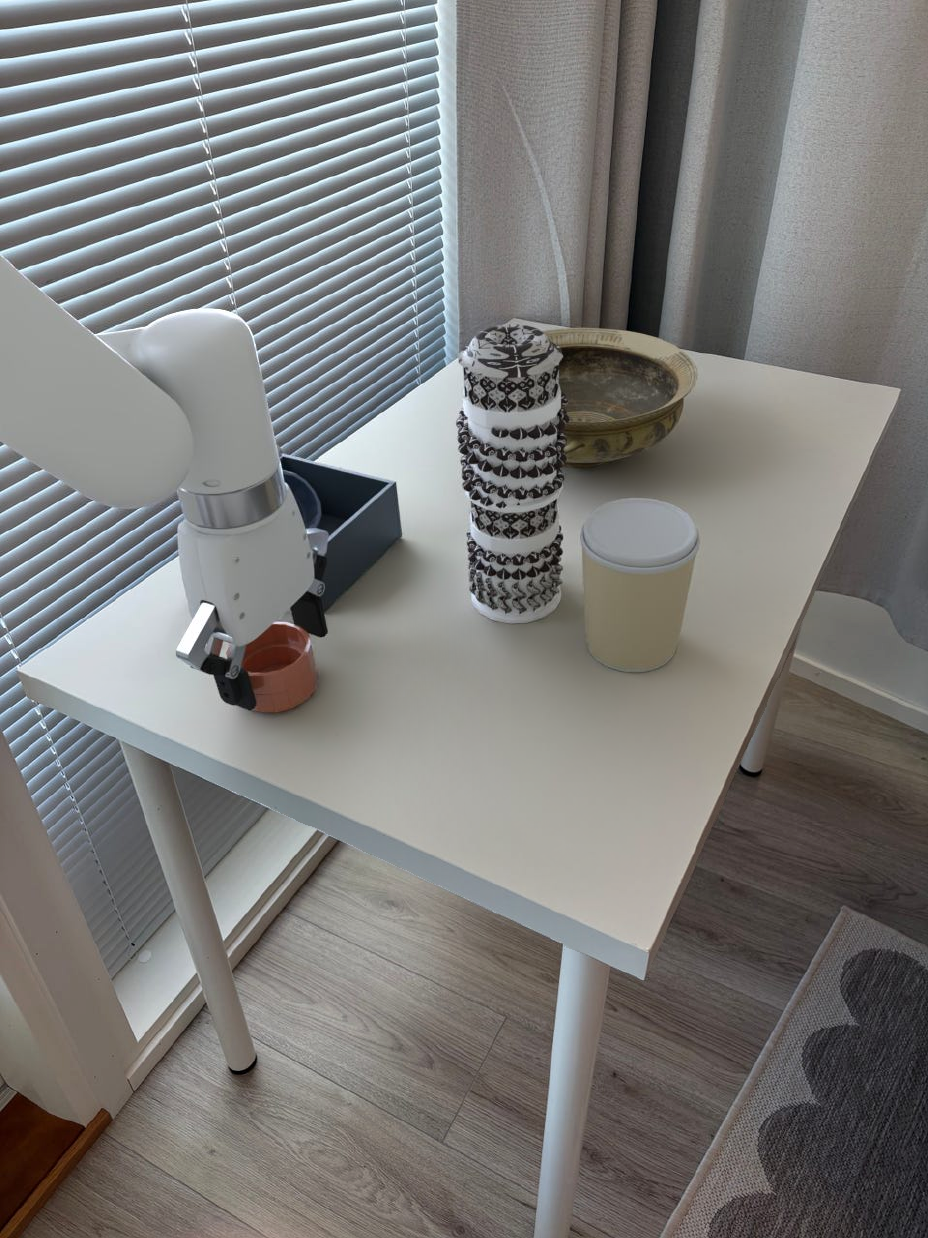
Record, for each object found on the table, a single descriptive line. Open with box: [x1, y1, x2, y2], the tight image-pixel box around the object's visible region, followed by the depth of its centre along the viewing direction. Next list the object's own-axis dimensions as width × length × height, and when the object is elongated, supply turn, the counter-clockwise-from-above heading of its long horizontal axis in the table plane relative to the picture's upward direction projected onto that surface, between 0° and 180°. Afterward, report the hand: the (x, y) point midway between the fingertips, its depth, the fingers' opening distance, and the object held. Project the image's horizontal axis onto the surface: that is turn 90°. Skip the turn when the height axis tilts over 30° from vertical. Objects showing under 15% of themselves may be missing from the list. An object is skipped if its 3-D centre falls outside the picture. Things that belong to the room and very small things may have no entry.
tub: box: [280, 453, 403, 613], centre depth 93 cm, size 14×14×6 cm
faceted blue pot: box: [282, 470, 322, 529], centre depth 94 cm, size 7×7×4 cm
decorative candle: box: [455, 323, 569, 624], centre depth 80 cm, size 9×9×25 cm
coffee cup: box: [579, 497, 701, 673], centre depth 78 cm, size 9×9×12 cm
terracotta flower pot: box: [225, 621, 319, 714], centre depth 79 cm, size 7×7×4 cm
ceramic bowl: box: [541, 327, 698, 468], centre depth 106 cm, size 30×24×10 cm
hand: (277, 666), depth 79 cm, fingers open, 9 cm apart
